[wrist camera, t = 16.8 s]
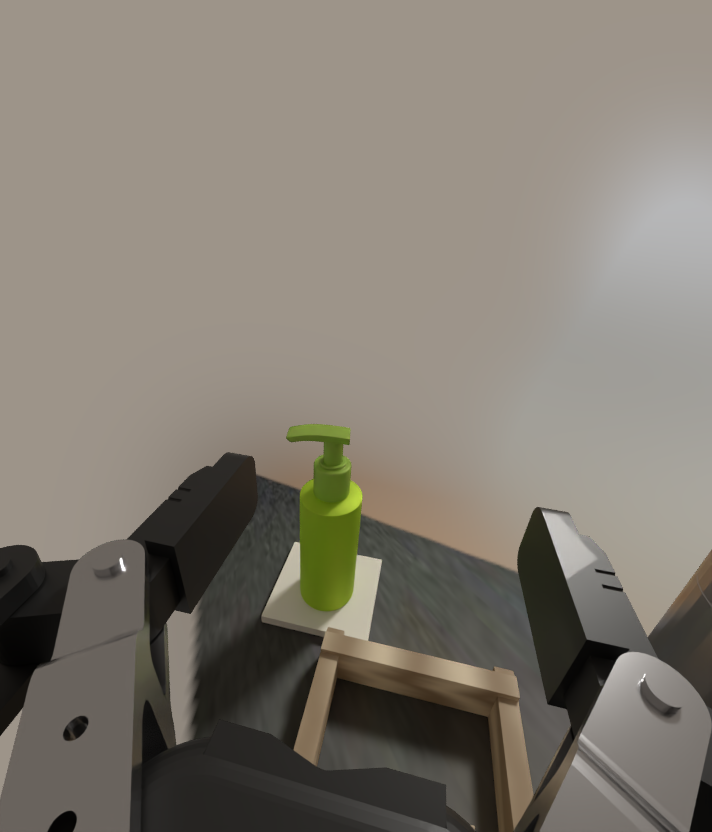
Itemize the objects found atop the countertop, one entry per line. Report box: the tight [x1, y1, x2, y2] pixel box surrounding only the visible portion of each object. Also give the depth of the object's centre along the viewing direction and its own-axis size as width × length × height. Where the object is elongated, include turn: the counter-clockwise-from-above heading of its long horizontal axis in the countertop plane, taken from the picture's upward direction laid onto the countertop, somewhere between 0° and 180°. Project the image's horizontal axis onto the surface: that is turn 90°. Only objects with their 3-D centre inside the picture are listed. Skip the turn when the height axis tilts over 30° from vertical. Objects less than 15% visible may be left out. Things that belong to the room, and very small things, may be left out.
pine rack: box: [294, 627, 533, 832], centre depth 27 cm, size 17×16×4 cm
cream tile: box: [261, 542, 382, 641], centre depth 41 cm, size 11×10×1 cm
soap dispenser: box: [286, 424, 362, 611], centre depth 36 cm, size 6×7×20 cm
